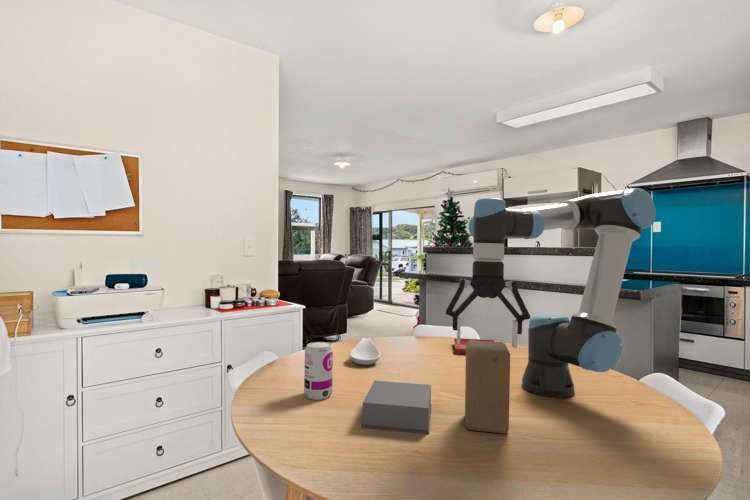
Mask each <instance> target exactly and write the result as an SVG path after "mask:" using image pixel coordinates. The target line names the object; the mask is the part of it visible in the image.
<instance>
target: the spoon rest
mask: <svg viewBox="0 0 750 500" xmlns="http://www.w3.org/2000/svg"><path fill="white" fill-rule="evenodd" d="M349 357H350V360H352V362H353V363H355V364H356V365H359V366H370V365H371V366H372V365H374V364H375V363H377V362H378V361H379V359H380V358H381V352H380V350H379V349H378V347H377V346H376V345H375V343H374V342H373V341H372V338H370V337H368V338H365V337H362V338H361V339H360V341H359V342H358V343H357V344H356V345H355V346H354V347H353V348H352V349H351V350H350V352H349Z"/></svg>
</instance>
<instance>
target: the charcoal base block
mask: <svg viewBox="0 0 750 500" xmlns="http://www.w3.org/2000/svg"><path fill="white" fill-rule="evenodd" d="M431 402H432V384H423V383H421V384H420V383H411V382H401V381H400V382H398V381H397V382H395V381H386V380H373V383H372V384H371V386H370V388H369V390H368V392H367V394H366V395H365V397H364V399H363V401H362V417H361V418H362V420H361V421H362V423H361V427H360V428H365V429H375V430H386V431H387V430H388V431H396V432H405V433H406V432H407V433H416V434H418V433H419V434H426V435H429V434H430V428H431V427H430V426H431V414H432V403H431Z"/></svg>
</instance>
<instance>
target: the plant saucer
mask: <svg viewBox="0 0 750 500" xmlns="http://www.w3.org/2000/svg"><path fill="white" fill-rule="evenodd" d="M469 340H476V341H493V342H496V341H495V340H494V339H479V338H460V345H457V337H455V338H453V343H454V344H453V345H454V348H455V350H456V352H457V353H458V354H459V353H460V354H459V355H466V343H467V341H469Z"/></svg>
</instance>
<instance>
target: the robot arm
mask: <svg viewBox="0 0 750 500" xmlns="http://www.w3.org/2000/svg"><path fill="white" fill-rule="evenodd" d="M655 205H656V204H655V202H654V200H653V198H652V195H650V194H649V192H647V191H646V190H645V189H642V188H638V187H635V188H623V189H619V190H618V189H617V190H612V191H604V192H603V191H602V192H596V193H590V194H587V195H584V196H582V195H581V196H579V197H575V198H572V199H566V200H562V201H560V202H558V203H557V204H550V205H544V206H537V207H536V206H535V207H527V208H521V209H517V208H507V206H506V200H504V199H503V198H498V197H497V198H496V197H487V198H480V199H477V200H476V201H475V202H474V208H473V216H472V217H471V218H470V219H469V222H468V231H469V234H470V236H471V237H473V242H472V244H473V245H472V259H474V261H472V272H471V273H472V274H471V275H472V277H471V279H469V280H468V279H464V278H460V279H459V283H458V287H457V289H456V291H455V293H454V295H453V296H452V298H451V300H450V302H449V304H448V306H447V308H446V310H445V315H447V316H449V317H451V318H452V330H453V331H456V338H457V345H460V339H461V323H462V321H461V320H462V319H461V318H462V317H461V316H460V315H461V314H462V313H463V312H464V311H465V310H466V309H467V307H469V306H470V304H471V303H472V302H473V301H474V300H475V299H476V298H477V297H479V298H481V299H482V298H483V299H486V298H489V299H496V298H498V299H499V300H500V301H501V302H502V304H504V306H505V307H506V308H507V309H508V311H509V312H510V313H511V315H512V317H514V318H515V319H512V325H511V326H512V327H511V328H512V332H511V334H512V335H511V336H512V337H511V346H512V348H513V349H518V335H522V333H523V322H524V321H526V320H529V323H528V328H527V329H528V332H527V334H528V337H527V338H528V346H527V348H528V350H527V351H528V361H527V363H526V366H525V369H524V372H523V375H522V379H521V386H522V388H523V389H525V390H526V391H527V392H528V391H529V393H530V392H531V393H532V394H533V393H534V394H536V395H540V396H544V397H550V398H566V397H571V396H573V395H574V394H575V384H574V380H573V378H572V374H571V371H570V368H569V364H570V365H572V366H575V367H578V368H581V369H583V370H585V371H593V372H595V373H605V372H608V371H610V370H611V369H613V368H614V367H615V366H616V365H617V364H618V362H619V361H620V359H621V356H622V354H623V344H622V343H623V342H622V339H621V337H620V336H619V334H617V326H616V325H615V323H614V321H613V319H614V315H615V311H616V307H617V304H618V300H619V295H620V292H621V287H622V284H623V280H624V275H625V271H626V268H627V265H628V261H629V256H630V253H631V249H632V244H633V242H635V241H637V240H639V239H640V238H641V235H642V230H643V229H647V228H650V227H652V225H653V224H654V223H655V221H656V216H657V215H656V214H657V213H656V212H657V211H656V209H657V208H656V206H655ZM556 229H562V230H566V231H570V230H592V231H593V230H594V231H595V232H596V234H597V235H598V238H597V242H596V245H595V250H594V253H593V257H592V261H591V265H590V268H589V273H588V276H587V280H586V284H585V287H584V290H583V291H584V292H583V294H582V298H581V302H580V306H579V310H578V311H577V312H576V313H574V314H572V315H571V317H570V318H569V317H568V316H566V315H539V316H537V315H536V316H533V317H531V315H530V312H529V311H528V309H527V307H526V304H525V302H524V299H523V298H522V297H521V294H520V292H519V290H518V282H517V281H516V280H510V281H505V279H504V275H505V273H504V271H505V270H504V269H505V267H504V266H505V263H504V262H503V261H502V260H505V240H506V239H507V240H508V239H510V240H511V239H516V240H517V239H521V240H522V239H524V240H530V239H531V240H533V239H538V238H539V237H540V236H541V235H542V234H543V233H544V231H550V230H556ZM468 286H471V288H472V291H471V293H470V294H469V296H467V298H465V300H463V302H462V303H461V304H460V305H459V306H458V307H457V308H456V309H455V310H454V308H455V306H456V305H457V303H458V301H459V299H460V297H461V295H462V294H463V291H464V289H466V288H468ZM505 287H507V289H508V290H510V291H511V293H512V295H513V297H514V300H515V301H516V303H517V306H518V307H519V310H520V313H521V314H520V313H519V312H518V311H517V310H516V308H514V306H513V305H512V304H511V302H510V301H509V300H508V299H507V297H506V296H505V295H504V294H503V293H502V291H503V290H504V289H505Z"/></svg>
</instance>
